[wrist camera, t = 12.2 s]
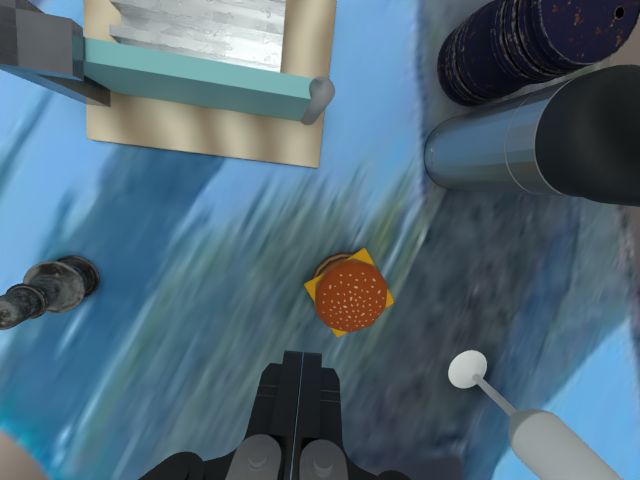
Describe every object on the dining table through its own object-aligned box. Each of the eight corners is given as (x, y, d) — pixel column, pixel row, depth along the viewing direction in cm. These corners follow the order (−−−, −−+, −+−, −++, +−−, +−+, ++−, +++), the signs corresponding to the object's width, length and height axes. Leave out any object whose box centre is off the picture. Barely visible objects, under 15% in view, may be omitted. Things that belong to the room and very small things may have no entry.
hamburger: (353, 237, 41) (369, 248, 34) (386, 292, 43) (407, 312, 37) (294, 275, 40) (299, 293, 34) (331, 328, 43) (342, 355, 36)
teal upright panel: (317, 106, 35) (336, 78, 25) (315, 126, 35) (333, 106, 26) (116, 73, 31) (46, 25, 21) (116, 96, 31) (47, 59, 22)
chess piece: (71, 309, 37) (-21, 370, 25) (34, 271, 35) (-82, 317, 24) (113, 282, 37) (40, 330, 25) (77, 243, 35) (-17, 275, 24)
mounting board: (334, 8, 35) (336, 0, 33) (316, 168, 38) (318, 167, 36) (90, -46, 30) (81, -58, 29) (95, 140, 34) (86, 138, 32)
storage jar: (425, 91, 38) (519, 38, 24) (452, 9, 37) (569, -101, 22) (490, 117, 40) (613, 83, 26) (518, 40, 39) (665, -41, 24)
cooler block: (284, 20, 33) (291, -67, 21) (275, 130, 35) (277, 107, 23) (82, -22, 29) (-40, -153, 18) (86, 103, 31) (-22, 60, 20)
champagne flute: (463, 343, 47) (653, 506, 24) (494, 359, 48) (702, 527, 25) (440, 379, 47) (603, 572, 24) (472, 394, 49) (653, 588, 26)
